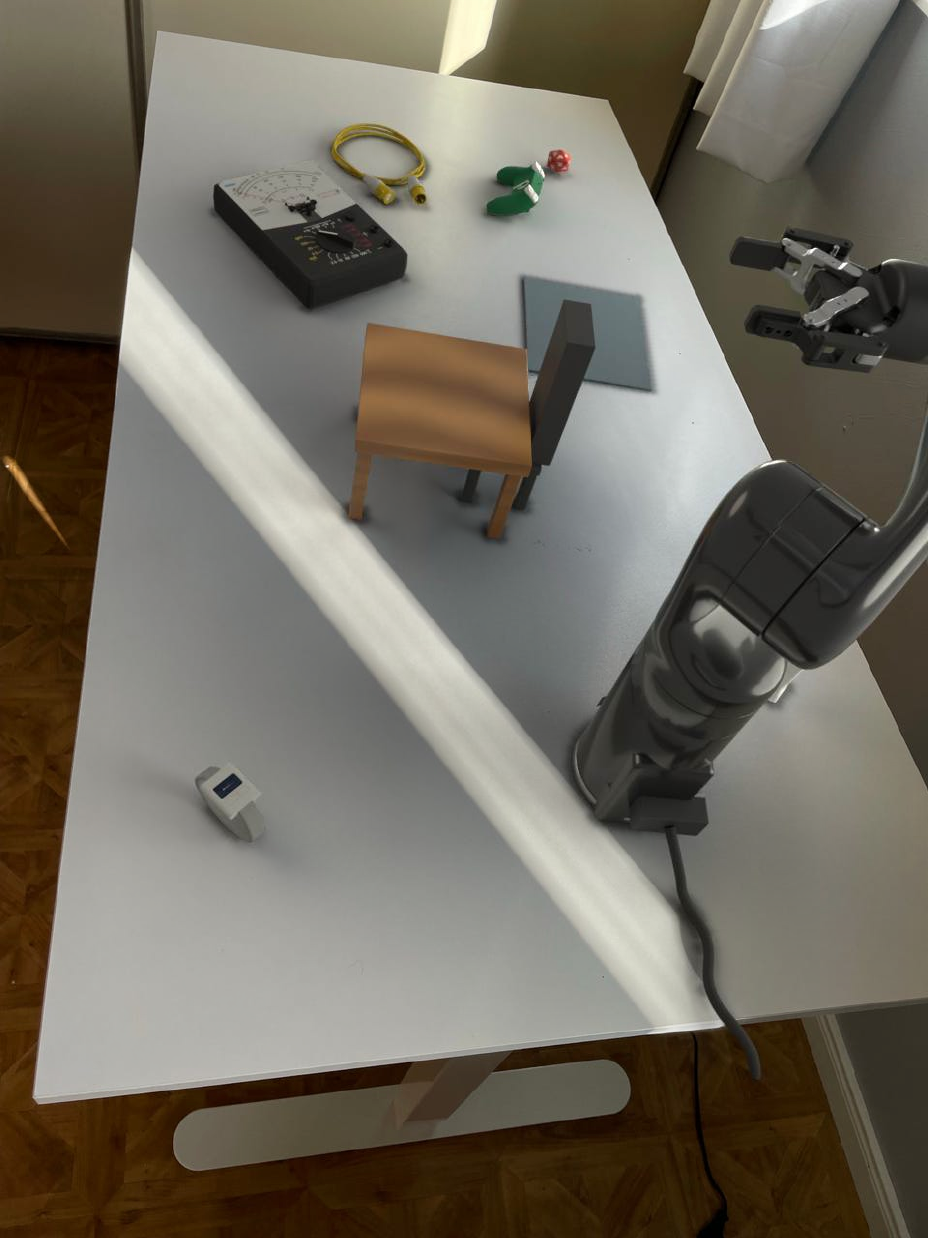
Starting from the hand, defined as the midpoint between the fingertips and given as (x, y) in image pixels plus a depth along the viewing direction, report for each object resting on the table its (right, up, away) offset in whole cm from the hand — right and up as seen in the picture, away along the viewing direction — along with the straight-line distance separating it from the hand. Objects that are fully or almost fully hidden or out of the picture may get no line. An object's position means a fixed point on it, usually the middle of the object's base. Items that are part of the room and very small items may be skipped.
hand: (740, 282), depth 78 cm
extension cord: (-32, +29, +45) cm, 63 cm away
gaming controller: (-16, +26, +47) cm, 56 cm away
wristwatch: (-39, -41, -5) cm, 57 cm away
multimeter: (-39, +15, +34) cm, 54 cm away
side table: (-25, -12, +18) cm, 33 cm away
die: (-10, +32, +53) cm, 63 cm away
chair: (-19, -13, +19) cm, 30 cm away
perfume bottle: (+5, -33, +11) cm, 35 cm away
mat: (-8, +6, +35) cm, 36 cm away
